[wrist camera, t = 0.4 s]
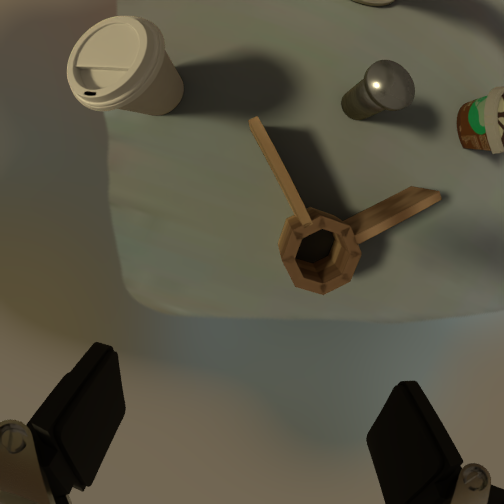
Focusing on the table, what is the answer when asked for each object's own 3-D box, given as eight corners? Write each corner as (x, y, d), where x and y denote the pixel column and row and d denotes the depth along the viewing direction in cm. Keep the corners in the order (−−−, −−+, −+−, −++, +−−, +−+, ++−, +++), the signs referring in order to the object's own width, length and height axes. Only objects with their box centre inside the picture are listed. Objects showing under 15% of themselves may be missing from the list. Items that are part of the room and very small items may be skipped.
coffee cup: (113, 104, 32) (44, 81, 18) (157, 48, 30) (107, -3, 16) (163, 141, 34) (105, 128, 19) (211, 81, 32) (181, 31, 17)
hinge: (363, 81, 31) (383, 65, 24) (421, 216, 35) (449, 226, 29) (224, 143, 34) (216, 136, 27) (296, 280, 38) (304, 304, 31)
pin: (362, 82, 31) (398, 55, 20) (380, 116, 32) (422, 100, 21) (330, 94, 32) (357, 67, 21) (349, 129, 33) (383, 116, 22)
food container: (477, 82, 29) (517, 71, 19) (495, 115, 30) (537, 111, 21) (436, 116, 31) (480, 107, 22) (457, 153, 33) (503, 154, 23)
